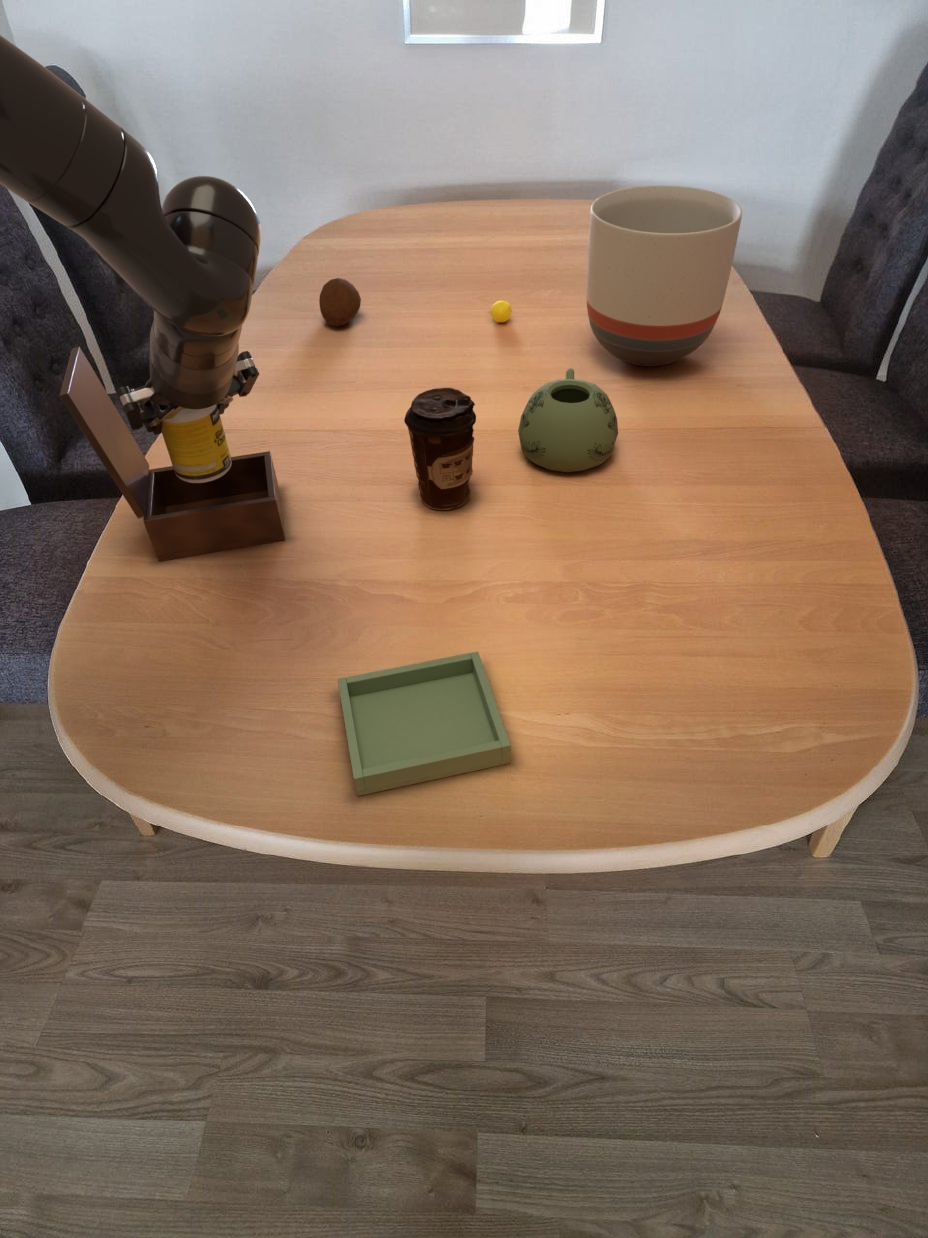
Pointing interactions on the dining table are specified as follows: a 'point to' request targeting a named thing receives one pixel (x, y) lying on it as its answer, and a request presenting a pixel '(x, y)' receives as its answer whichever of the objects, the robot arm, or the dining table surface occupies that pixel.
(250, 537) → the brown wooden box
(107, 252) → the robot arm
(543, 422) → the green ceramic domed vessel
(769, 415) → the dining table surface
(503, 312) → the yellow rounded lump
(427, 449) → the coffee cup
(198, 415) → the pill bottle
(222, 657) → the dining table surface
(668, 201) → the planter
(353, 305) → the potato
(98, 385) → the lid
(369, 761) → the tray
